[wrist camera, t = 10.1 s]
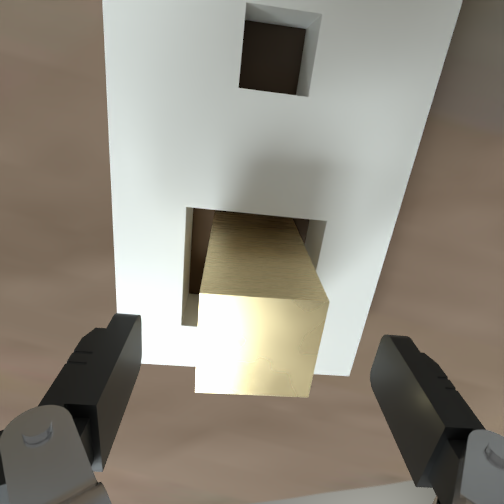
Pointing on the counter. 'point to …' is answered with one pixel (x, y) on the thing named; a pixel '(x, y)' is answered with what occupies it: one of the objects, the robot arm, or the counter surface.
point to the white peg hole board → (263, 146)
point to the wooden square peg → (258, 309)
